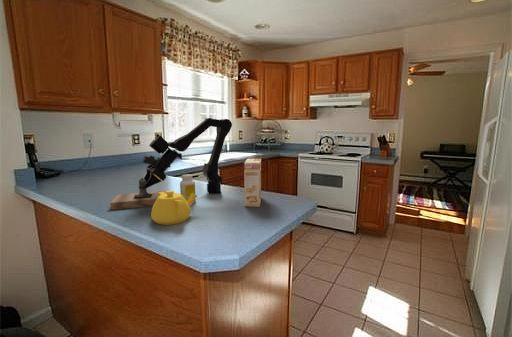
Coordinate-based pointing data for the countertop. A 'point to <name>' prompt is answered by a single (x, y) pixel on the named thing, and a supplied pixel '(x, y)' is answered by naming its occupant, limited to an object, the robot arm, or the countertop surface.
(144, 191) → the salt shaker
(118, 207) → the board
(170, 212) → the teapot
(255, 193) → the coffeecake box
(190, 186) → the supplement bottle
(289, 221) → the countertop surface
